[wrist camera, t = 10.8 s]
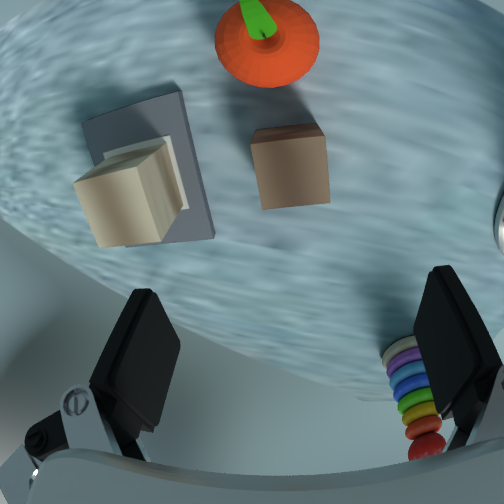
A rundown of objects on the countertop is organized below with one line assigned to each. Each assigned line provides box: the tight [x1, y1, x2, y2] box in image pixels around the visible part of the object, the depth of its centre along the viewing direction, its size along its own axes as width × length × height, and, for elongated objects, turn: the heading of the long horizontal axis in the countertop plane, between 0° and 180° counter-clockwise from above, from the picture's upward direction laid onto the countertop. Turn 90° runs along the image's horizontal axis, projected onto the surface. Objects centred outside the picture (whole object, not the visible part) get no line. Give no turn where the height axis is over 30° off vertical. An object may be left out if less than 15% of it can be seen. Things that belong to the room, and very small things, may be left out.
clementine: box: [215, 0, 319, 88], centre depth 16 cm, size 8×7×7 cm
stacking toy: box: [382, 336, 446, 461], centre depth 30 cm, size 8×8×19 cm
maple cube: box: [73, 143, 183, 248], centre depth 23 cm, size 6×6×6 cm
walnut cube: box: [250, 123, 330, 210], centre depth 22 cm, size 5×5×5 cm
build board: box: [82, 91, 216, 248], centre depth 26 cm, size 10×14×1 cm
